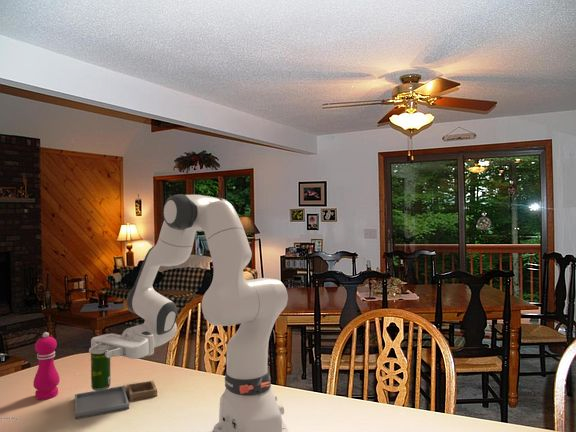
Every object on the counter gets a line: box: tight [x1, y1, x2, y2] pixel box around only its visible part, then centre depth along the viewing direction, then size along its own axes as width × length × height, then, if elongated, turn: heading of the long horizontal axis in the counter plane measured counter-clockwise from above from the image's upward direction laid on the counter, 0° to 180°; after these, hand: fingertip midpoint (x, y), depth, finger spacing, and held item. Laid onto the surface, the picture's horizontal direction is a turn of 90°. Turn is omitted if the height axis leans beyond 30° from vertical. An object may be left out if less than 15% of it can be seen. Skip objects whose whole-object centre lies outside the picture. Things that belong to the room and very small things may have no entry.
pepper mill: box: [33, 331, 60, 401], centre depth 138 cm, size 7×7×20 cm
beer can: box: [90, 345, 112, 391], centre depth 132 cm, size 5×5×12 cm
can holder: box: [126, 380, 158, 402], centre depth 140 cm, size 8×8×2 cm
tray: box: [74, 385, 130, 420], centre depth 132 cm, size 14×14×2 cm
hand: (98, 353), depth 131 cm, fingers closed on beer can, 5 cm apart
